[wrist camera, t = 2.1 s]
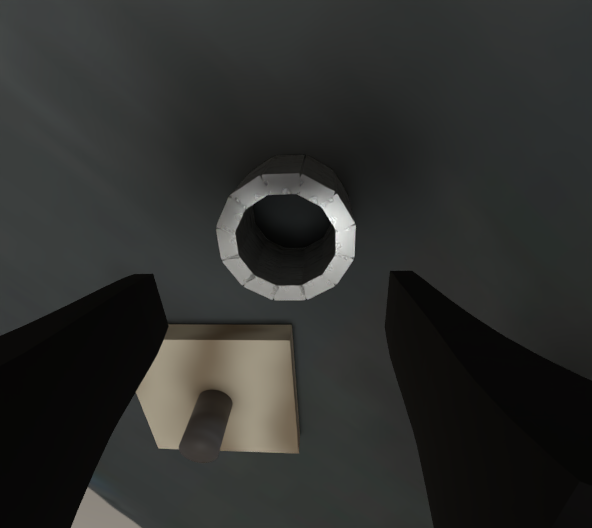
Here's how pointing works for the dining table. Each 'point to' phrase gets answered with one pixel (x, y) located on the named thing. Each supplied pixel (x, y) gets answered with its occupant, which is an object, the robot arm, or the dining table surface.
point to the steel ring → (272, 257)
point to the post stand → (223, 390)
